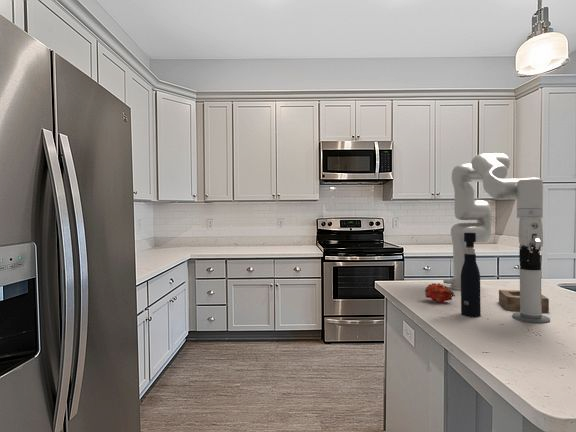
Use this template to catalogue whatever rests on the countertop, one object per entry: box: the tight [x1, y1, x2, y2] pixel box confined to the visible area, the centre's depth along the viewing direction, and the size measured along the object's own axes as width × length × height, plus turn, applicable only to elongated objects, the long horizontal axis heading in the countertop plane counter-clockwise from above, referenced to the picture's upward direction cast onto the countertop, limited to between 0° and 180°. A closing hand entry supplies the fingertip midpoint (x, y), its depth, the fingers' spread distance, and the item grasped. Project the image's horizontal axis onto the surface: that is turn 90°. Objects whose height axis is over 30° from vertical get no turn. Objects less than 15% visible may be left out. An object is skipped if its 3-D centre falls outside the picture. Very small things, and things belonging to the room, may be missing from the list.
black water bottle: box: [460, 233, 482, 318], centre depth 133 cm, size 6×6×30 cm
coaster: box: [511, 311, 551, 324], centre depth 127 cm, size 11×11×1 cm
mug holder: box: [498, 289, 550, 313], centre depth 142 cm, size 13×13×5 cm
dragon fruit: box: [424, 282, 456, 304], centre depth 151 cm, size 8×8×12 cm
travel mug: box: [518, 259, 543, 319], centre depth 127 cm, size 6×7×20 cm
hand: (529, 262), depth 127 cm, fingers open, 9 cm apart
